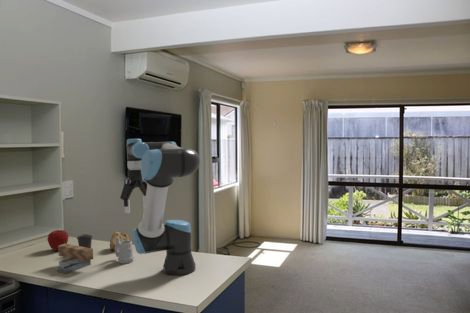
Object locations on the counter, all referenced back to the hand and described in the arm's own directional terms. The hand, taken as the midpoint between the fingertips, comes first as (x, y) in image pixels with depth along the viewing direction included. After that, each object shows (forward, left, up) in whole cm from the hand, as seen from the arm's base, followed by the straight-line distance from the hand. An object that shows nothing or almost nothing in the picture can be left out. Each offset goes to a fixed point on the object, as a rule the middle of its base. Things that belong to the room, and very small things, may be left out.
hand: (136, 210), depth 196 cm
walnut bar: (+19, +23, -20) cm, 36 cm away
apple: (+52, +9, -26) cm, 59 cm away
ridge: (+18, +24, -25) cm, 40 cm away
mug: (+5, +5, -26) cm, 27 cm away
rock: (+22, -8, -26) cm, 35 cm away
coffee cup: (+33, +6, -26) cm, 42 cm away
